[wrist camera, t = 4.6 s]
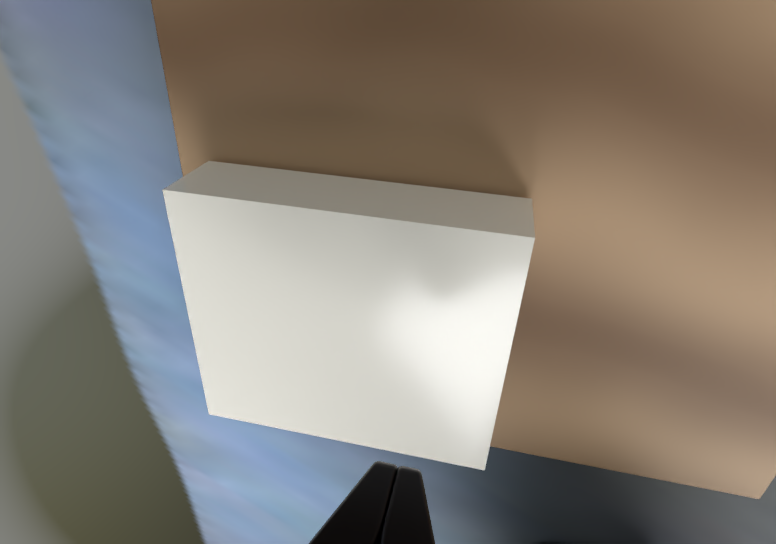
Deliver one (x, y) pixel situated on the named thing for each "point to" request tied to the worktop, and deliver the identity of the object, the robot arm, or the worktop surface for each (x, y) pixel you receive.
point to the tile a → (352, 304)
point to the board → (547, 189)
